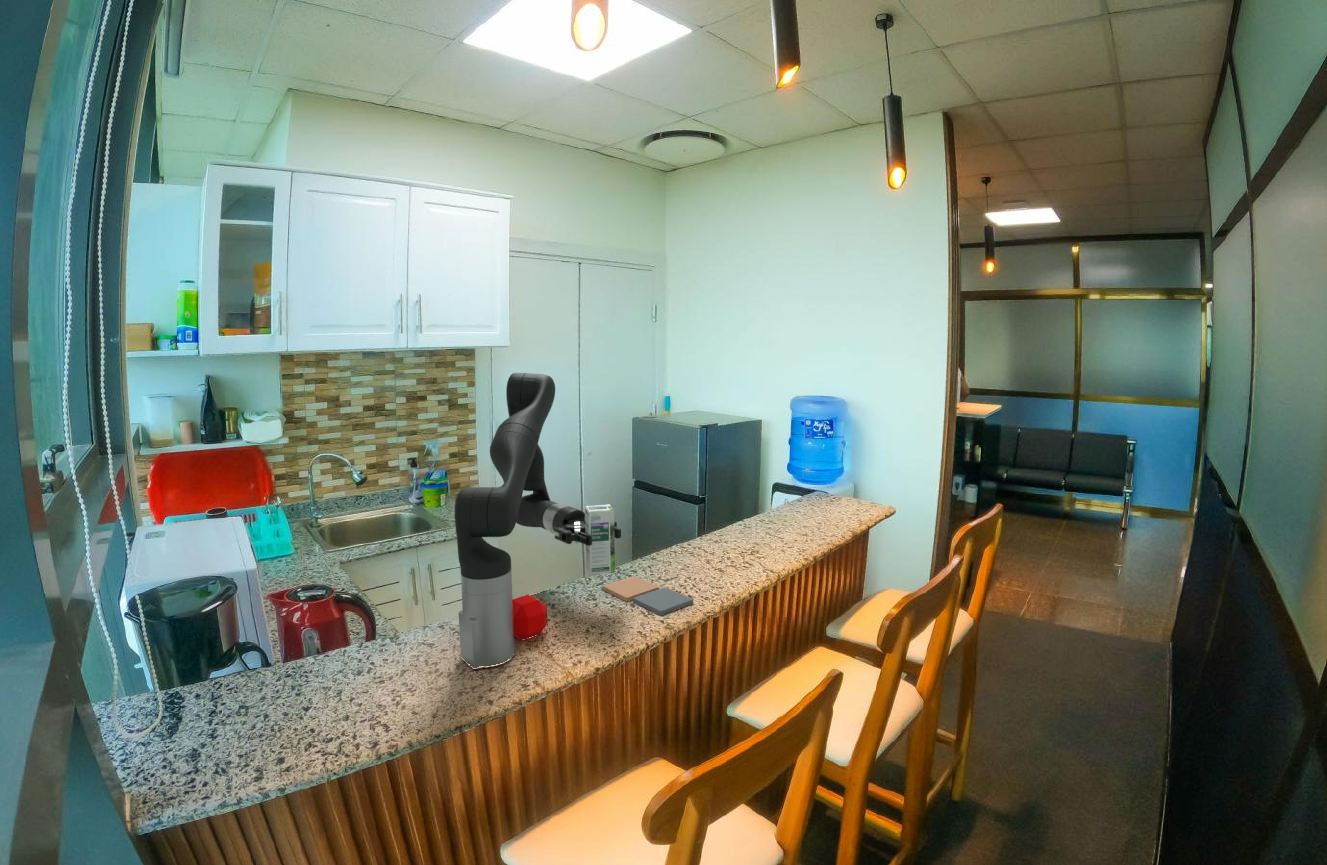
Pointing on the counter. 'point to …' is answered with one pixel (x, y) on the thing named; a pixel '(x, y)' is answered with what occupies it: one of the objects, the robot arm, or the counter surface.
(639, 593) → the terracotta tile
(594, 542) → the syrup box
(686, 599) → the slate tile
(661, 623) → the counter surface
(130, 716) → the counter surface
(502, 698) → the counter surface
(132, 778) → the counter surface
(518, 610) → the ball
